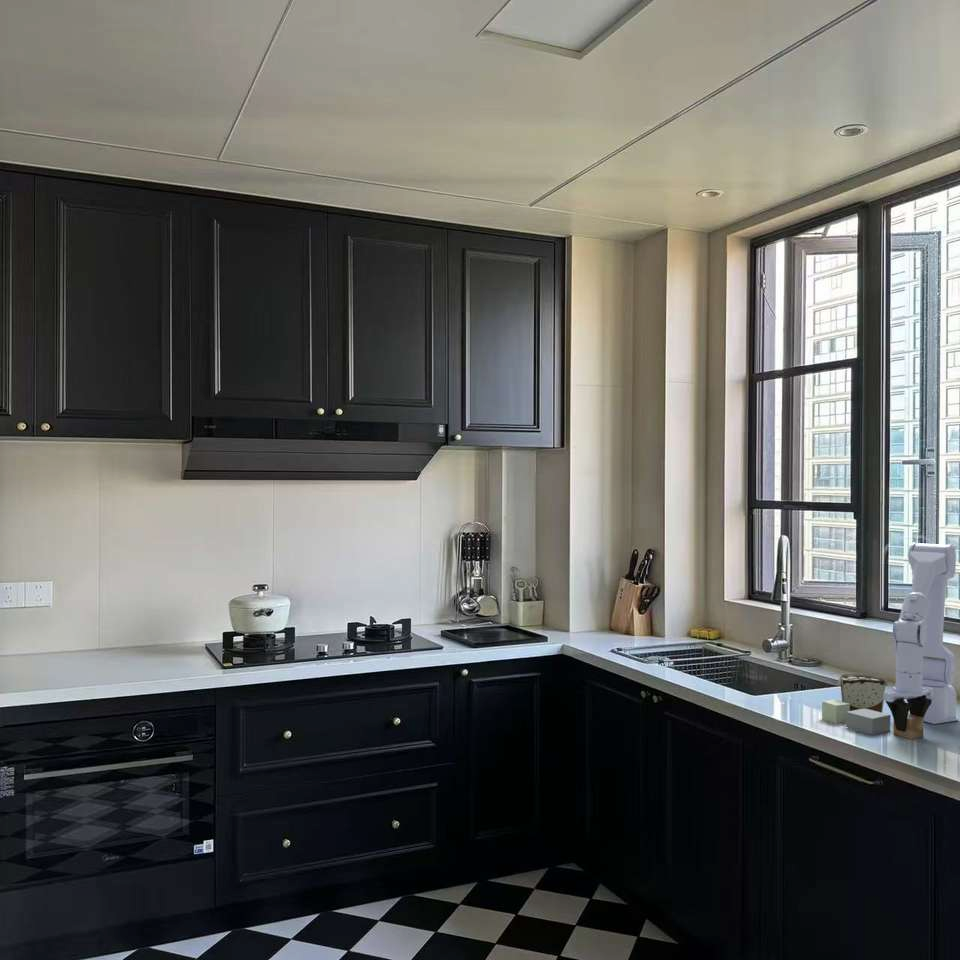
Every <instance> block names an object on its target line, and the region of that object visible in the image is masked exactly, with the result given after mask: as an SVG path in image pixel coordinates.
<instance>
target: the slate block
mask: <svg viewBox="0 0 960 960" xmlns="http://www.w3.org/2000/svg"><path fill="white" fill-rule="evenodd" d="M846 727H848V728H847V729H850V728H851V729H850V730H853V729H854V731H857V730H858V732H861V731H862V732H861V733H864V732H865V734H868V735H876V734H882V733H885V732H889V731H891V714H888V713H885V712H882V713H881V712H877V711H873V710H869V709H865V708H863V709H858V710H853V711H849V712H846V722H845V728H846Z"/></svg>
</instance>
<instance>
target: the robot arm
mask: <svg viewBox="0 0 960 960" xmlns="http://www.w3.org/2000/svg"><path fill="white" fill-rule="evenodd" d="M907 553H908V554H907V558H908V564H909V565H910V569H911V570H912V571H913V575H912V576H913V577H912V583H911V589H910V593H908V594H906V595H905V596H904V598H903V602H902V607H901V610H900V614H899V619H898V620H896V621H894V622H893V625H892V630H891V631H892V634H891V635H892V641H893V650H894V651H895V686H892V688H891V689H890V690H888V691H885V692H884V694H883V700H884V701H885V703H886V705H887V707H888V709H889V710H890V712H891V716H892V718H893V723H894V722H895V727H896V730H899V731H902V732H905V731H906V726H907V717H908V713H909V714H912V715H916V716H919V717H923V722H926V723H928V724H933V725H935V724H943V723H944V724H945V723H949V722H950V723H951V722H955V721H960V718H959V717H957V692H956V689H955V688H954V687H953V685H952V683H954V681H955V677H956V664H955V655H954V653H953V652H952V651H951V650H949V649H948V647H946V646H945V645H944V644H943V642H944V625H945V605H946V603H945V602H946V588H947V587H946V586H947V583H948V580H950V579H953V578H955V574H956V566H957V565H956V562H957V552H956V548H955V547H954V546H953V544H950V543H949V544H948V543H947V544H939V543H938V544H937V543H936V544H935V543H919V542H918V543H917V542H912V543H911V544H910V545H909V547H908V552H907ZM924 655H925V656H924ZM933 656H934V657H933ZM940 657H941V658H940ZM905 700H906V701H905Z"/></svg>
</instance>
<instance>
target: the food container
mask: <svg viewBox="0 0 960 960" xmlns="http://www.w3.org/2000/svg"><path fill="white" fill-rule="evenodd" d="M837 686H840V695H841V701H842V702H845V703H849V704H850V711H853V710H858V709H863V708H865V709H869V710H873V711H877V712H881V713H883V711H884V709H883V708H884V700H883V694H884V692H886V687H888V686H889V685H888V680H887V678H886V677H885V676H882V675H878V674H873V673H872V674H871V673H865V672H864V673H862V672H846V673H842V674H840V675H839V677H838V681H837Z"/></svg>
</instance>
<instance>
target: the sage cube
mask: <svg viewBox="0 0 960 960" xmlns="http://www.w3.org/2000/svg"><path fill="white" fill-rule="evenodd" d="M821 704H822V705H821V708H822V709H821V719H822V720H823V719H824V721H827V722H830V721H831V722H830V723H833V722H834V723H833V724H841V723H840V722H843V723H846V712H849V711H850V704H849V703H845V702H842V700H839V699H830V700H822V701H821Z"/></svg>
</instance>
